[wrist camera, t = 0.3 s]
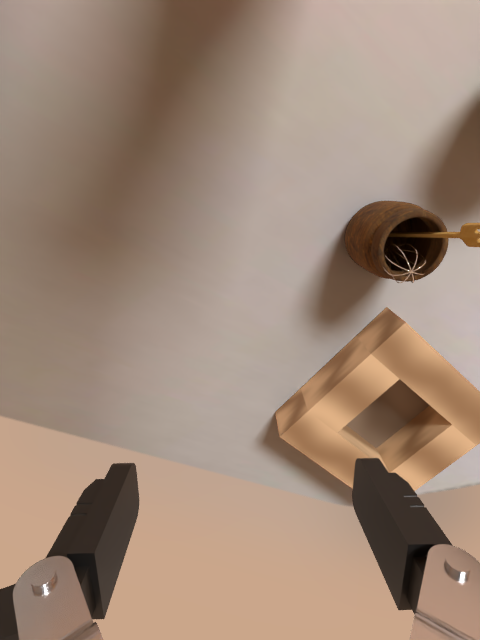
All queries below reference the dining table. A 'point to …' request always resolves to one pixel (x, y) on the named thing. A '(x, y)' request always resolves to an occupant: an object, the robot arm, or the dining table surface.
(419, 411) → the oak socket block
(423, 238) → the utensil holder
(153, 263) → the dining table surface
